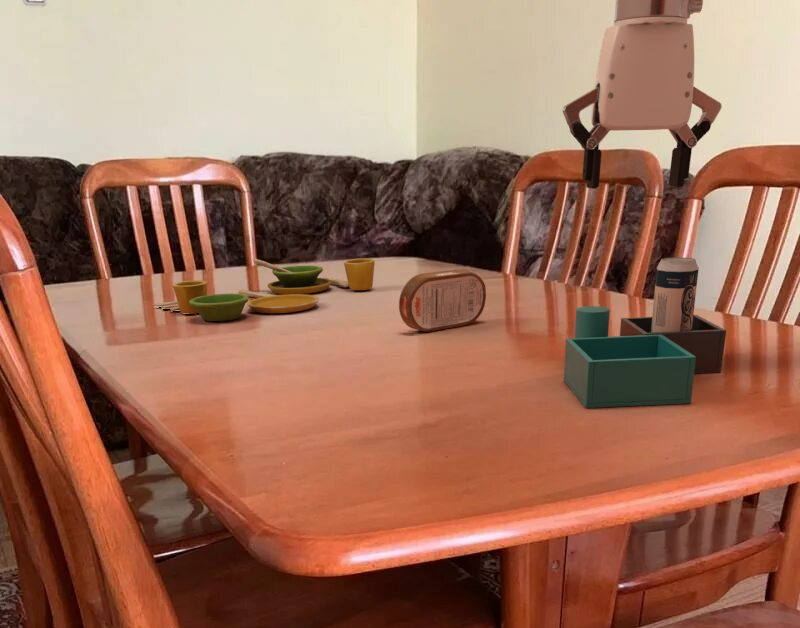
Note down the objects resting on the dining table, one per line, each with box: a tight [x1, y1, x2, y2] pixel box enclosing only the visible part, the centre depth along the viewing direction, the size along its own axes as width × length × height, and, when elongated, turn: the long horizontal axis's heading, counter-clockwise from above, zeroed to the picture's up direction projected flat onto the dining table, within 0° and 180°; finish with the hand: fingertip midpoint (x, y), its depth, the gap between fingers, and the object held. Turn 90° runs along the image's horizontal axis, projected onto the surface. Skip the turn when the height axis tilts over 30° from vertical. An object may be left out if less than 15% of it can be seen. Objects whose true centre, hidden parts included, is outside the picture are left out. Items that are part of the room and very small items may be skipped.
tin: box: [398, 268, 487, 333], centre depth 126 cm, size 15×3×8 cm, turn 123°
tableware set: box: [154, 258, 376, 322], centre depth 154 cm, size 41×28×6 cm
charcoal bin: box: [619, 314, 727, 375], centre depth 102 cm, size 10×10×5 cm
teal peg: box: [574, 305, 611, 338], centre depth 102 cm, size 4×4×7 cm
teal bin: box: [563, 334, 696, 409], centre depth 92 cm, size 11×11×5 cm
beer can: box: [651, 256, 700, 333], centre depth 100 cm, size 5×5×12 cm
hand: (634, 187), depth 94 cm, fingers open, 9 cm apart
